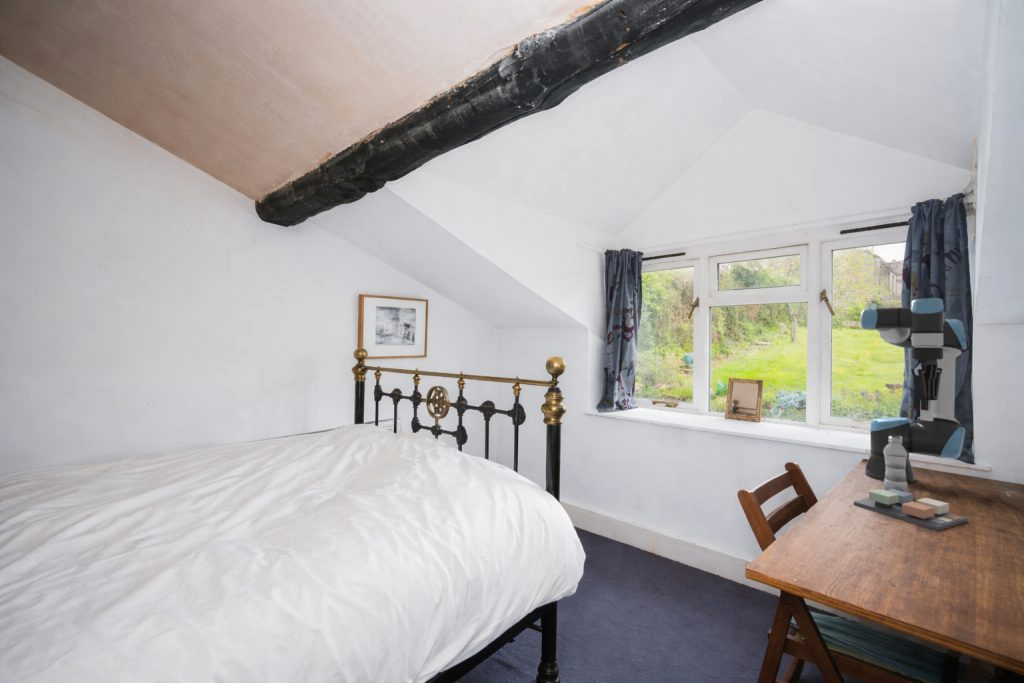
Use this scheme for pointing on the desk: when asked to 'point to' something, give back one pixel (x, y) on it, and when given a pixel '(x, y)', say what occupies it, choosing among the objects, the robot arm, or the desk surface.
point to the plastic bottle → (895, 465)
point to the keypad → (896, 511)
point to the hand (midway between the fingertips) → (926, 420)
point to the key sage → (884, 496)
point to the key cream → (935, 505)
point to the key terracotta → (918, 510)
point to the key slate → (902, 496)
